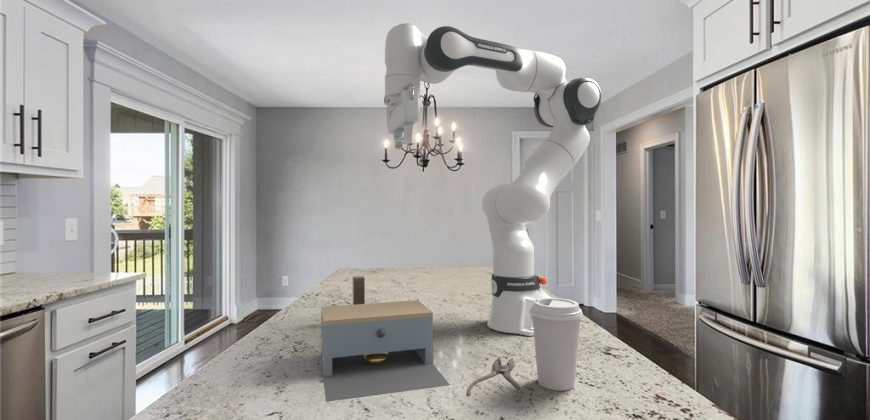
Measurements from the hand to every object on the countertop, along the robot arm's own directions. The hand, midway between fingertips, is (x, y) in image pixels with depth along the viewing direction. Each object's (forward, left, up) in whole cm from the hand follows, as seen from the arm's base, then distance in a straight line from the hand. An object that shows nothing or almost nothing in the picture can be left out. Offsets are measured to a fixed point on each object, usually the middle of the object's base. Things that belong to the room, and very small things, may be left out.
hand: (402, 146), depth 107 cm
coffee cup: (-21, +36, -48) cm, 64 cm away
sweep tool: (+9, -6, -48) cm, 49 cm away
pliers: (-11, +30, -48) cm, 58 cm away
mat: (+9, +19, -48) cm, 52 cm away
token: (+9, +15, -48) cm, 51 cm away
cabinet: (+9, +14, -48) cm, 51 cm away
